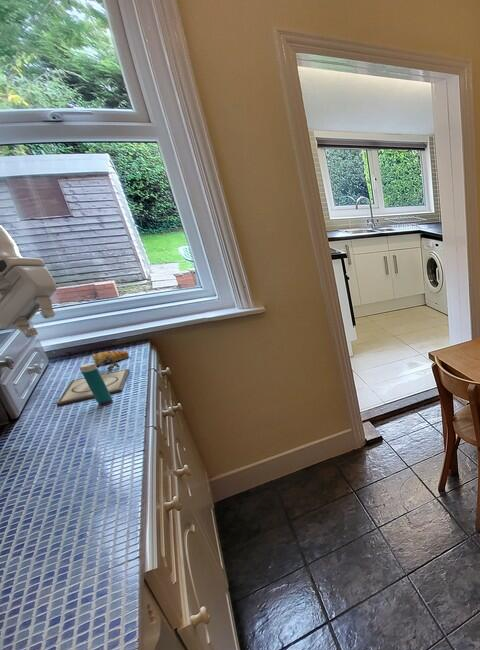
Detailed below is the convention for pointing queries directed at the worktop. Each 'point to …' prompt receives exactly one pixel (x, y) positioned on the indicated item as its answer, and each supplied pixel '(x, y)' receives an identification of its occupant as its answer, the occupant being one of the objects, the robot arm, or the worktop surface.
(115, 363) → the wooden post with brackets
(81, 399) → the drawing board
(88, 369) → the dot marker
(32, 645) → the worktop surface
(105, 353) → the pastry
